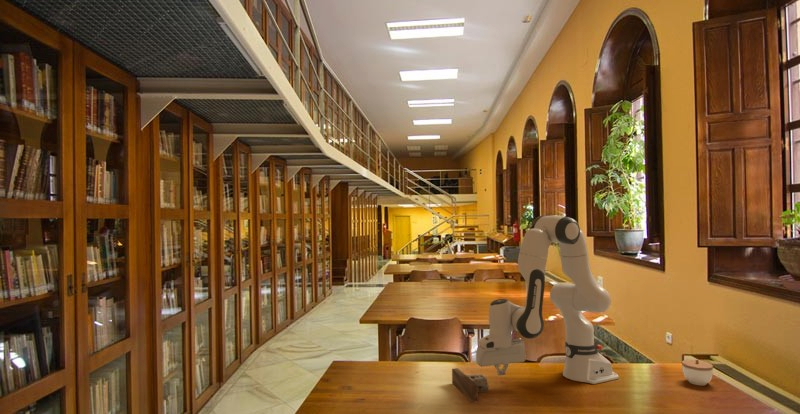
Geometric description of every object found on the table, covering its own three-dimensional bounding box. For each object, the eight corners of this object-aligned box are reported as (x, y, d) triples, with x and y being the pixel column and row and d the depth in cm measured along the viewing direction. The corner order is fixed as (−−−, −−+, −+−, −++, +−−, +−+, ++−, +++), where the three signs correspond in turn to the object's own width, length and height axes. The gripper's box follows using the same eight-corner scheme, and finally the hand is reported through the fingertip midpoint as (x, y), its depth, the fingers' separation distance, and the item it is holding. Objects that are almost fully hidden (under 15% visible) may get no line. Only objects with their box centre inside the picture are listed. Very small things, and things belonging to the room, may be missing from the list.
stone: (461, 374, 194) (486, 372, 193) (463, 388, 193) (487, 386, 192) (462, 379, 181) (488, 377, 180) (463, 394, 180) (490, 393, 179)
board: (458, 382, 192) (457, 368, 192) (477, 401, 173) (477, 385, 173) (452, 383, 191) (452, 368, 191) (471, 402, 172) (471, 386, 172)
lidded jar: (686, 376, 197) (685, 354, 197) (716, 382, 189) (715, 359, 190) (678, 382, 190) (678, 359, 190) (709, 389, 182) (709, 365, 182)
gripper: (520, 335, 192) (521, 369, 192) (474, 340, 188) (475, 374, 188) (528, 340, 186) (529, 374, 186) (480, 344, 182) (481, 380, 182)
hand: (501, 374), depth 187 cm, fingers closed
